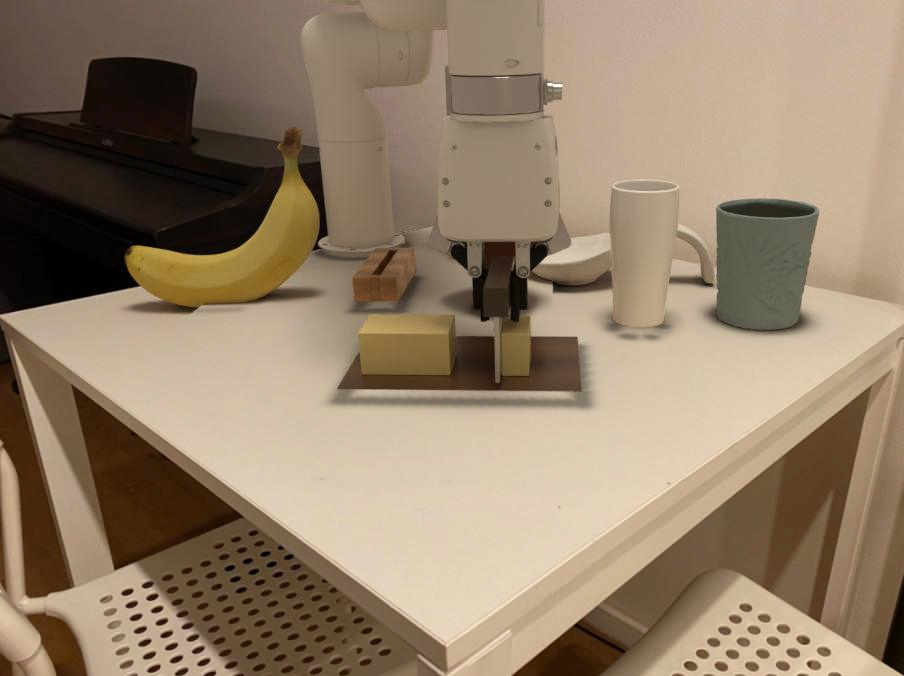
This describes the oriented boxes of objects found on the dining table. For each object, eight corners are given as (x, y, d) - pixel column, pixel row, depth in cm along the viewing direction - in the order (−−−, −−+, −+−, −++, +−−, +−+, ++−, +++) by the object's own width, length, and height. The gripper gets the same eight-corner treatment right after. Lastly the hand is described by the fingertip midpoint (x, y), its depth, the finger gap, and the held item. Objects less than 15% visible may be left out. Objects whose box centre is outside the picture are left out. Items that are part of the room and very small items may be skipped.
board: (369, 346, 81) (368, 335, 81) (577, 347, 80) (577, 336, 80) (338, 401, 69) (336, 388, 69) (581, 403, 68) (581, 390, 68)
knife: (494, 341, 78) (493, 255, 75) (515, 342, 78) (514, 255, 75) (485, 385, 68) (483, 287, 65) (508, 385, 68) (507, 287, 64)
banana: (125, 315, 92) (86, 134, 84) (144, 299, 97) (110, 127, 89) (323, 310, 92) (303, 129, 84) (331, 295, 97) (314, 123, 89)
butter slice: (505, 354, 75) (504, 314, 74) (530, 355, 75) (530, 314, 74) (501, 376, 71) (501, 333, 69) (529, 376, 71) (528, 333, 69)
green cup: (810, 335, 82) (828, 218, 77) (709, 330, 84) (720, 216, 79) (795, 304, 91) (810, 197, 86) (704, 300, 93) (713, 196, 88)
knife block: (378, 278, 104) (375, 247, 102) (416, 278, 103) (414, 247, 102) (355, 310, 92) (352, 277, 90) (398, 311, 91) (396, 277, 90)
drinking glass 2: (670, 342, 81) (680, 192, 75) (602, 338, 82) (608, 191, 76) (670, 319, 87) (680, 179, 81) (608, 316, 88) (613, 178, 82)
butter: (373, 353, 76) (369, 314, 75) (456, 354, 76) (455, 314, 74) (361, 374, 72) (357, 332, 70) (450, 375, 71) (448, 333, 69)
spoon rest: (519, 292, 97) (518, 234, 94) (525, 266, 108) (524, 212, 105) (719, 294, 95) (724, 234, 92) (704, 267, 105) (709, 212, 103)
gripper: (595, 93, 67) (589, 304, 74) (406, 96, 68) (418, 303, 75) (599, 101, 60) (592, 332, 67) (389, 104, 61) (404, 331, 68)
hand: (500, 315), depth 71 cm, fingers closed on knife, 2 cm apart
